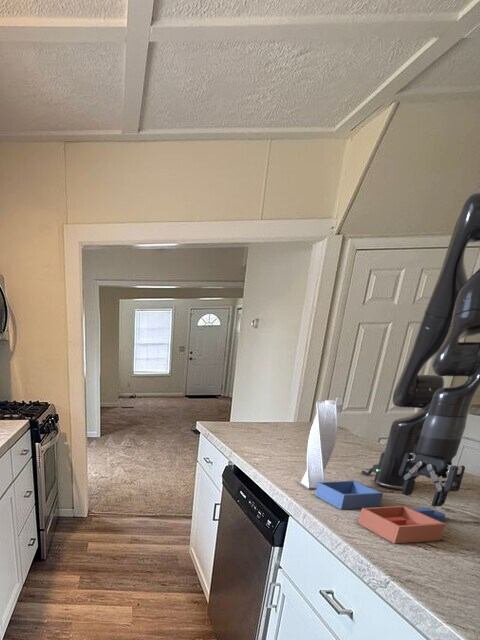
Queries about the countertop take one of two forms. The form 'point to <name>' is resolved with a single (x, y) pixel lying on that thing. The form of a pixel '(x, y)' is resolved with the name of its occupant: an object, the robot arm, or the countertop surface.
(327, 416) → the skyscraper
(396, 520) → the red stepped block
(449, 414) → the robot arm
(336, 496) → the blue bin
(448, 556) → the countertop surface
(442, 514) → the blue stepped block
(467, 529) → the countertop surface
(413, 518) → the terracotta bin
